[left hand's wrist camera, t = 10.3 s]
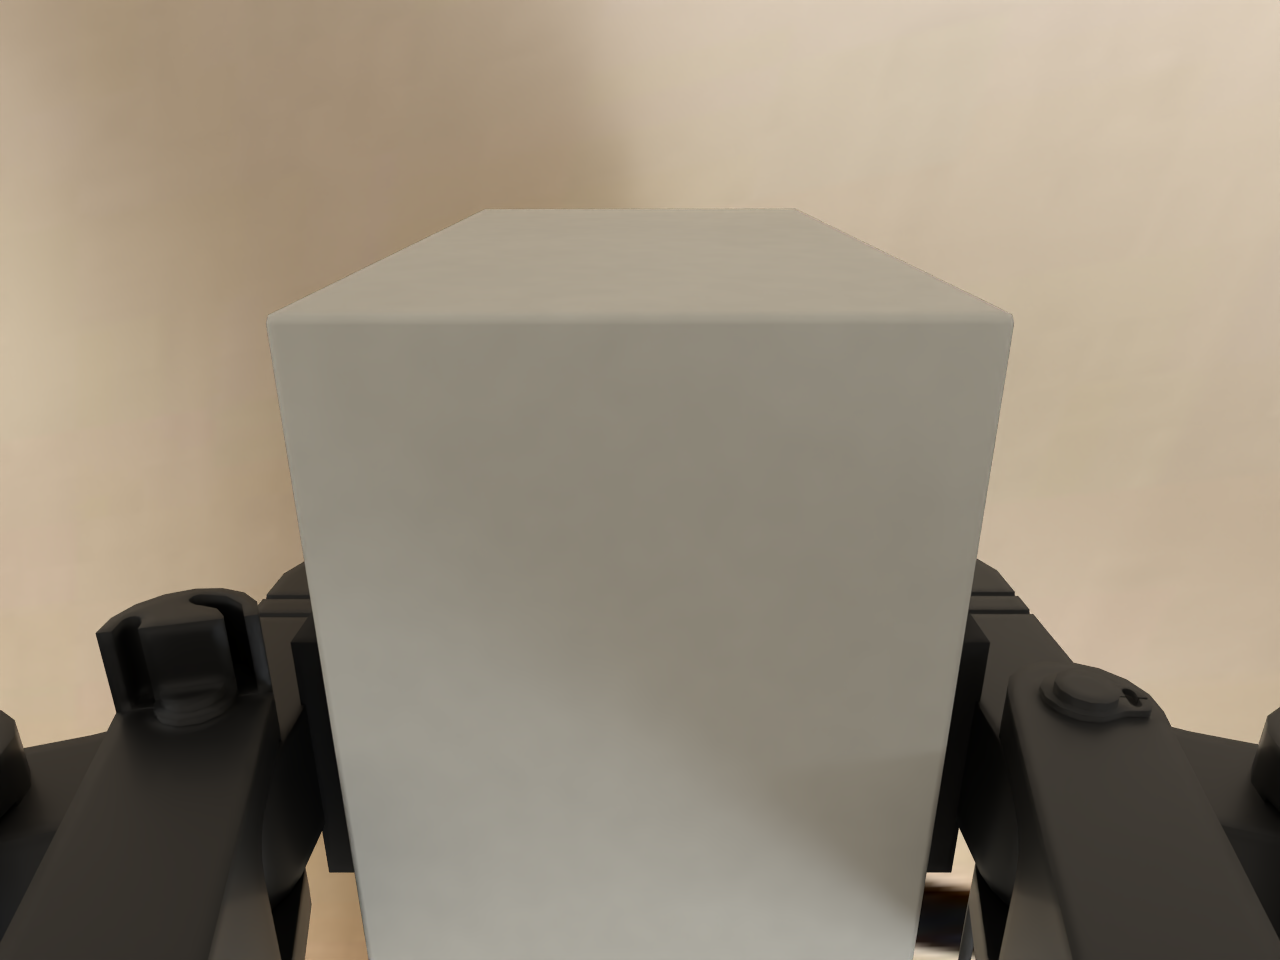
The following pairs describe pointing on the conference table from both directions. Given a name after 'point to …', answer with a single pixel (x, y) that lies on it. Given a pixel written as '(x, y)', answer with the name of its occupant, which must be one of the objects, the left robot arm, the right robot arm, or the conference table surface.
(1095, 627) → the conference table surface
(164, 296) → the conference table surface
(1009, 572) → the conference table surface
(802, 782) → the post
